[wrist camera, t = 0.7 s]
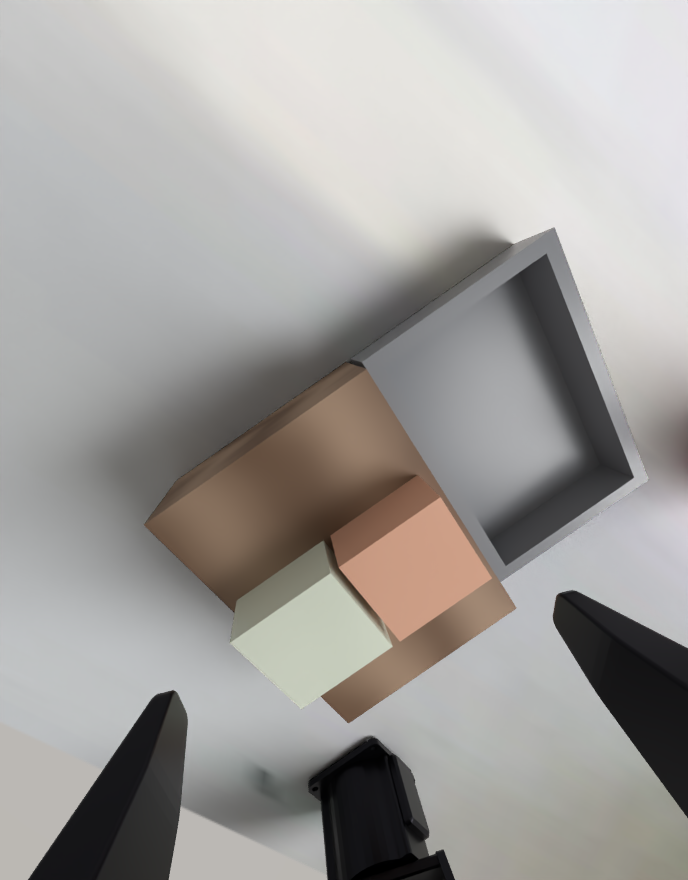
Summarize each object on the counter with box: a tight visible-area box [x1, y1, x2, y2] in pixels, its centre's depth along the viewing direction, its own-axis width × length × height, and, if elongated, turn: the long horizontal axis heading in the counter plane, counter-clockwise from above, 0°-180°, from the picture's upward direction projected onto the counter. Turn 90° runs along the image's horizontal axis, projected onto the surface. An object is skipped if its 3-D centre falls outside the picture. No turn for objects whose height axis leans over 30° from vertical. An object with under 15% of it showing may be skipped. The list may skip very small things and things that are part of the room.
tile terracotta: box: [330, 475, 492, 641], centre depth 16 cm, size 5×5×2 cm
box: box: [350, 228, 649, 582], centre depth 21 cm, size 11×16×3 cm
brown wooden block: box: [144, 362, 516, 723], centre depth 20 cm, size 12×16×5 cm
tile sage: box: [230, 541, 393, 709], centre depth 16 cm, size 5×5×2 cm
